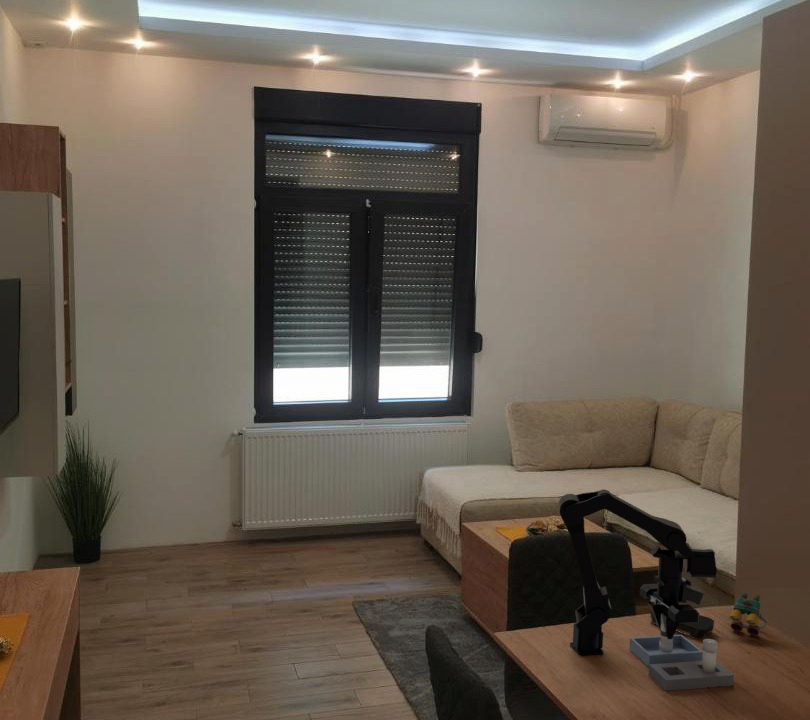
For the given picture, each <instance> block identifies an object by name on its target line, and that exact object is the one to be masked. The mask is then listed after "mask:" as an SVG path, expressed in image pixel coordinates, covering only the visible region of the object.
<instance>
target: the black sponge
mask: <svg viewBox="0 0 810 720" xmlns="http://www.w3.org/2000/svg"><path fill="white" fill-rule="evenodd" d="M649 623H650V624H652V623H653V624H652V625H655V624H656V626H658V625H657V622H656V620H655V618H654V615H653V613H652V611H650V616H649ZM714 626H715V620H714V619H712V618H711V617H708V616H705V615H701V614H699V621H698V622H686V623H679V625H678V627H677V629H676V630H677V631H680V632H682V633H686V634H689V635H690V636H689V637H691V636H692V637H694V638H693V639H696V640H697V639H698V640H701V639H703V638H704V637H706V636H707V635H708V634H709V633H711V632H712V631H714ZM682 633H681V634H682ZM692 637H691V638H692Z"/></svg>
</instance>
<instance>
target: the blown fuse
mask: <svg viewBox="0 0 810 720" xmlns="http://www.w3.org/2000/svg"><path fill="white" fill-rule="evenodd" d="M663 613H668V612H663ZM659 636H660V641H659V650H660V651H662V652H665V653H671V652H672V651H673V638H672V639H668V638H667V635H666V631H665V627H664V622H663V618H662V614H661V630H659Z"/></svg>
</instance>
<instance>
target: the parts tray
mask: <svg viewBox="0 0 810 720" xmlns="http://www.w3.org/2000/svg"><path fill="white" fill-rule="evenodd" d="M659 641H660V635H656V636H655V635H654V636H640V637H639V636H638V637H637V636H636V637H629V648H628V649H630V650H629V651H630V652H632V653H633V654H634V655H635V656H636V657H637V658H638V659H639V660H640V661H641V662H644V663H643V664H644V665H645V666H646V667H648V668H649V664H662V663H677V662H691V661H702V657H703V649H702V650H701V648H699V647H698V646H696V645H695V644H694V643H693V642H692V641H690V640H689V639H688V638H687V637H685V636H684V634H674V636H673V651H672V652H671V653H665V652H662V651H660V650H659Z"/></svg>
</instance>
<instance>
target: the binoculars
mask: <svg viewBox="0 0 810 720" xmlns="http://www.w3.org/2000/svg"><path fill="white" fill-rule="evenodd" d="M760 599H761V595H758V594H755V595H754V596H753V599H748V594H747V592H744V591H742V592H741V597H738V598H737V599H736V602H735V603H734V606H733V609H732V610H731V611H730V613H729V617H728V618H729V619H730V620H731V623H730V625H729V626H730V628H731V630H733V631H735V632H738V633H739V632H742V631H743V629H744V628H746V632H747V633H748V634H749V635H750V636H753V637H754V636H755V637H756V636H759V635H760V630H762V629H764V628H765V627H766V626H767V624H768V622H767V620H766V619H765V617H763V616H762V614H761V613H760V612H761V611H760V608H761V603H760ZM745 614H746V616H747V617H746V619H745V622H746V624H744V622H742V617H743V615H745ZM760 620H761V621H763V622H764V625H762V626H759V621H760Z"/></svg>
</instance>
